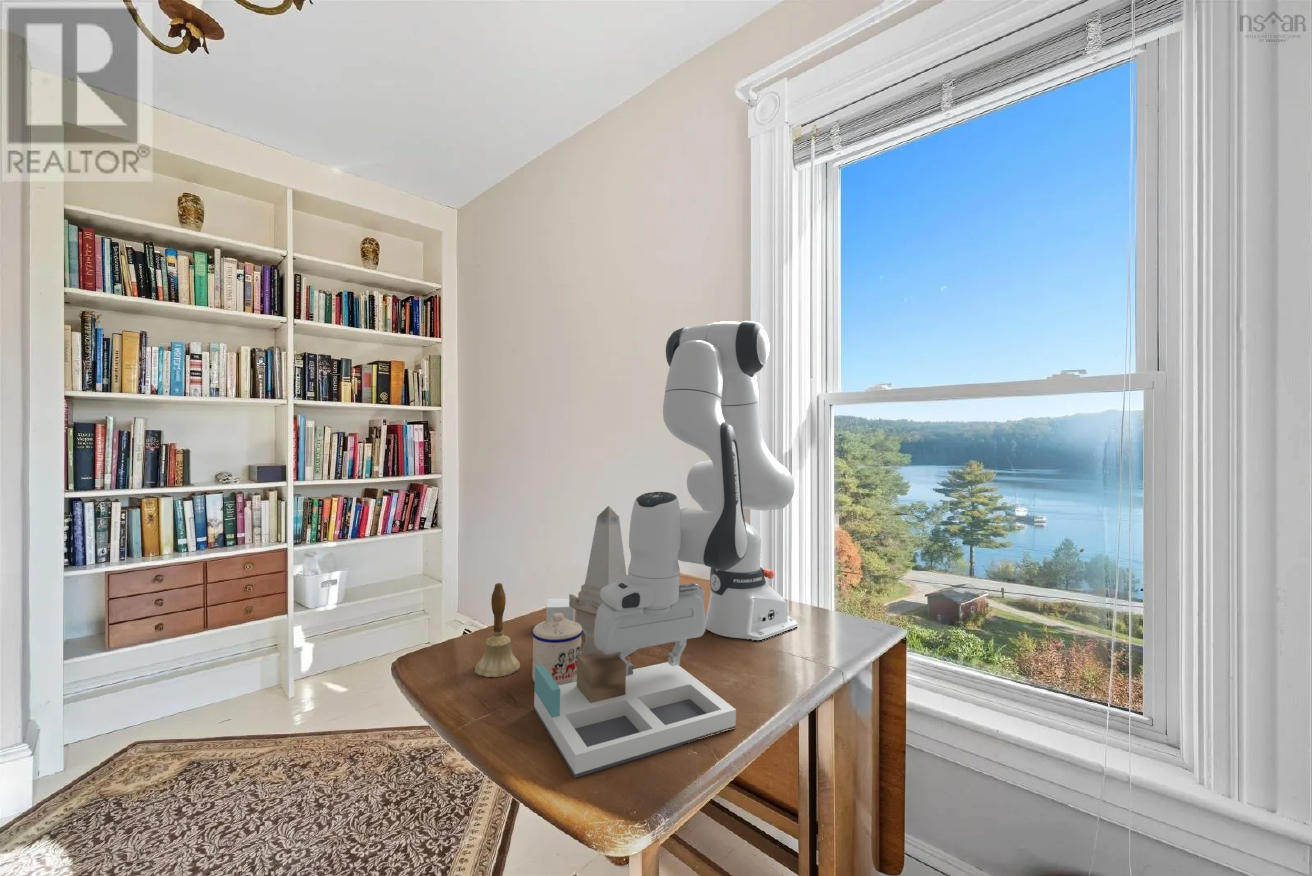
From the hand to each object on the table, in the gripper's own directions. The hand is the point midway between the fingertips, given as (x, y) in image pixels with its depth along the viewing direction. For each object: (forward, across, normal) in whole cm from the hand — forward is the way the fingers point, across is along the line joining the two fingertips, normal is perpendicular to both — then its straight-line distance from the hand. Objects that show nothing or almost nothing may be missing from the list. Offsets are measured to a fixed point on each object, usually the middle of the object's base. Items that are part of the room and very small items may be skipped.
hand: (650, 669), depth 90 cm
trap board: (+5, +6, +5) cm, 9 cm away
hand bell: (+5, +21, -22) cm, 31 cm away
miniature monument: (+5, 0, -20) cm, 21 cm away
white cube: (+5, +4, -36) cm, 37 cm away
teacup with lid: (+5, +11, -14) cm, 19 cm away
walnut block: (+2, +9, 0) cm, 9 cm away
